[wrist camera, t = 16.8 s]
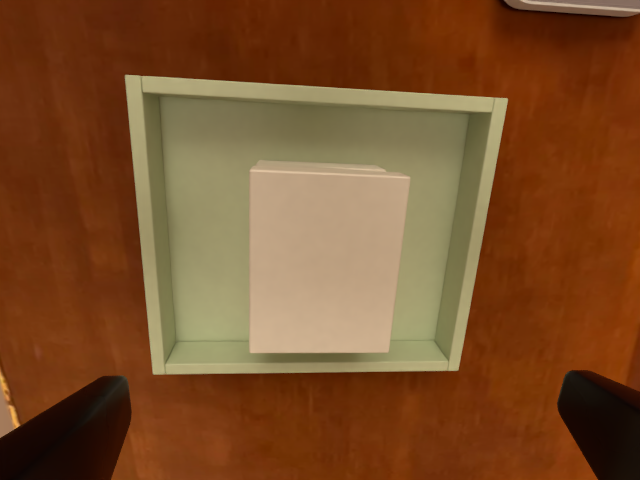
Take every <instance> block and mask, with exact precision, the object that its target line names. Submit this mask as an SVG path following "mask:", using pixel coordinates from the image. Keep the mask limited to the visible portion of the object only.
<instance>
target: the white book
mask: <svg viewBox="0 0 640 480" xmlns="http://www.w3.org/2000/svg"><path fill="white" fill-rule="evenodd" d="M409 187H410V177H409V176H407V175H404V174H402V173H400V172H379V171H358V170H336V169H315V168H293V167H272V166H252V168H251V169H250V171H249V352H250V353H388V352H389V347H390V339H391V331H392V323H393V315H394V307H395V299H396V291H397V283H398V275H399V267H400V259H401V251H402V243H403V235H404V227H405V219H406V211H407V203H408V195H409Z"/></svg>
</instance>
